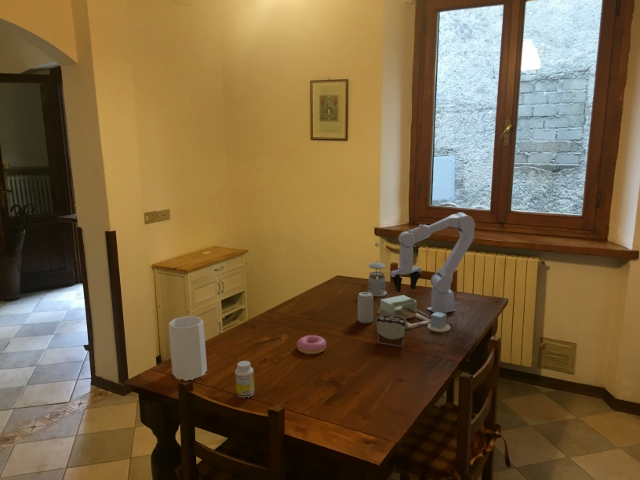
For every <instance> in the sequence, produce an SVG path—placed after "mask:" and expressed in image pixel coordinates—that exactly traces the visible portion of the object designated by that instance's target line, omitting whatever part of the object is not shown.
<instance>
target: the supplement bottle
mask: <svg viewBox="0 0 640 480" xmlns="http://www.w3.org/2000/svg"><path fill="white" fill-rule="evenodd" d="M236 366H237V367H236V369H235V372H234V375H235V388H236V389H235V391H236V392H235V393H236V396H237V397H238V398H241V397H242V398H241V399H246V398H245V397H248V398H251V397H252V396H254V394H255V392H256V391H255V372H254V368H253V367H252V365H251V362H250V361H248V360H242V361H239V362H237V363H236ZM250 396H251V397H250Z"/></svg>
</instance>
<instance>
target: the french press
mask: <svg viewBox="0 0 640 480" xmlns="http://www.w3.org/2000/svg"><path fill="white" fill-rule="evenodd" d="M374 246H375V247H378V246H380V244H379V243H378V242H376V243H375V244H374ZM368 268H370V269H374V270H378V271H372V272H370V273H369V276H368V291H367V292H369V293H372V296H373V297H382V296H383V297H384V296H385V295H387V293H388V292H387V291H386V276H385V273H384V272H381V271H380V270H381V269H385V268H386V265H385V264H384V263H382V262H378V261H376V262H372V263H370V264H369V265H368Z"/></svg>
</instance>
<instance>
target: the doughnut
mask: <svg viewBox="0 0 640 480" xmlns="http://www.w3.org/2000/svg"><path fill="white" fill-rule="evenodd" d="M296 347H297V350H298V351H300V352H301V353H303V354H305V355H316V354H320V353H322V352H324V350H325V349H326V347H327V340H326V339H324V337H322V336H319V335H316V334H315V335H314V334H313V335H312V334H311V335H310V334H309V335H305V336H303V337H300V338H299V339H298V340H297V341H296Z"/></svg>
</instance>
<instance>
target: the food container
mask: <svg viewBox="0 0 640 480" xmlns="http://www.w3.org/2000/svg"><path fill="white" fill-rule="evenodd" d="M407 322H408V321H407V319H405V318H404V317H402V316H400V315H395V314H384V315H380V314H379V315H377V316H376V318H375V319H374V323H376V333H377V342H378V344H383V345H390V346H397V347H401V348H403V347H404V341H405V334H406V333H405V332H406V329H405V327H407Z"/></svg>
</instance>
